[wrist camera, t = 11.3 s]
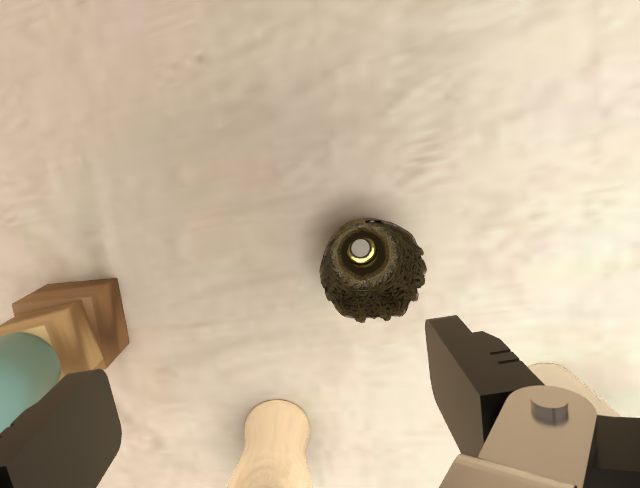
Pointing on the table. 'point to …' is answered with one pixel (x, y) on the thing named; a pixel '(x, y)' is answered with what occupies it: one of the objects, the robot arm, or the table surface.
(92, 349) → the top block
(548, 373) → the cylindrical container
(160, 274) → the table surface
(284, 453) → the beer glass
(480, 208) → the table surface
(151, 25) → the table surface
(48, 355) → the cylinder
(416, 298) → the cup
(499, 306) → the table surface
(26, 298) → the base block
